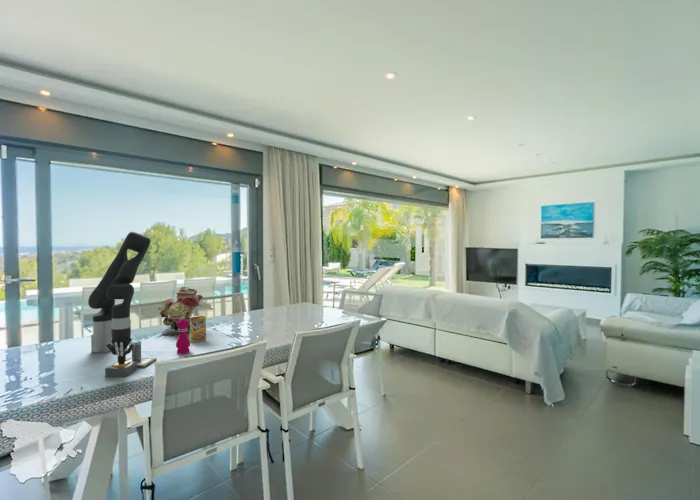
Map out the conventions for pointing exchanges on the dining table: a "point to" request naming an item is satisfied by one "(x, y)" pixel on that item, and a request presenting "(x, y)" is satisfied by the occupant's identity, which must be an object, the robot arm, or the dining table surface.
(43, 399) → the dining table surface
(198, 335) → the candy box
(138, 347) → the marker
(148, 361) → the board
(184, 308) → the rose bouquet
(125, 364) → the button
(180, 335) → the pepper mill
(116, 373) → the button housing
